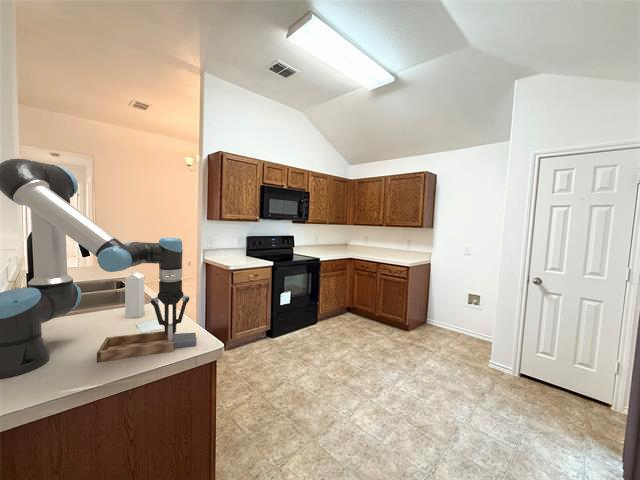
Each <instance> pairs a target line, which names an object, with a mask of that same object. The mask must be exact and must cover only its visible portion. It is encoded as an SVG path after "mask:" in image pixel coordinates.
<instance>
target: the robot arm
mask: <svg viewBox="0 0 640 480" xmlns="http://www.w3.org/2000/svg"><path fill="white" fill-rule="evenodd" d="M78 188H79V187H78V181H77V179H76V177H75V175H74V174H73V173H71V171H69V169H66V168H64V167H60V166H59V165H55V164H50V163H45V162H40V161H35V160H34V161H33V160H30V159H25V158H11V159H7V160H4V161H2V162H0V192H1V193H2V194H3V195H4V196H6V198H8V199H9V200H11V201H13V203H15V204H17V205H18V206H26V207H27V208H29V209H30V220H31V223H30V224H31V243H32V261H33V264H32V265H33V276H34V277H33V278H31V279H30V280H29V281H28V282H27V287H20V288H14V289H9V290H4V291H1V292H0V379H4V378H11V377H13V376H18V375H22V374H25V373H28V372H31V371H33V370H36V369H38V368H39V367H42V366H43V365H45V364H47V362H49V360H50V359H51V356H50V355H51V351H50V349H49V347H48V346H47V344H46V342H45V340H44V338H43V335H42V333H43V332H42V324H44V323H46V322H48V321H52V320H54V319H56V318H58V317H61V316H64V315H66V314H68V313H69V312H71V311H73V310H74V309H75V308H76V307H78V305H79V304H80V302H81V300H82V294H83V293H82V290H81V288H80V287H79V286H78V284H77V283H75V282H74V278H73V277H72V276H71V275H69V274H68V258H67V237H68V238H70V239H71V240H73V241H74V242H75V243H77V244H78V245H80V246H81V247H83V248H84V249H86V250H87V251H89V252H90V253H91V254H92V255H94V256H96V260H97V264H98V265H99V267H100V268H101V270H103V271H105V272H108V273H114V272H120V271H121V272H123V271H124V270H127V269H129V268H132V267H136V266H139V265H144V264H157V265H158V279H159V282H158V294H157V296H156V297H153V298H151V300H150V304H151V305H152V306H153V309H154V311H155V315H156V320H157V321H158V323H159V325H161V326H163V327H164V331H165V334H168V342H172V341H173V333H175V334H177V333H176V332H177V325H178V324H181V323H182V321H183V317H184V313H185V310H186V306H187V304H188V302H190V296H189V295H185V294H184V292H183V280H182V278H183V252H184V251H183V250H184V249H183V240H182V239H181V238H179V237H161V238H159V239H158V240H159V241H158V242H142V241H141V242H139V241H128V242H125V243H123V242H122V241H120V240H119V239H117V238H116V237H115V236H113V235H112V234H110V232H108V231H107V230H105V229H104V228H102V227H101V226H100V225H98V224H97V223H96V222H94V221H93V220H91V219H90V218H89V217H88V216H87V215H85V214H84V213H82V212H81V211H80V210H78V209H77V208H76V207H74V206H73V205H72V204H71V198H73V197H74V195H76V194H77V192H78ZM180 301H182V305H181V307H180V310H179V311H180V312H179V314H178V318H177V305H178V303H179V302H180ZM159 302H161V303H162V304H163V305H164V319H163V316H162V312H161V311H162V310H161V309H160V304H159ZM170 305H171V306H172V317H171V318H172V320H171V321H172V323H169V320H170V318H169V317H170V316H169V314H170V313H169V312H170Z"/></svg>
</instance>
